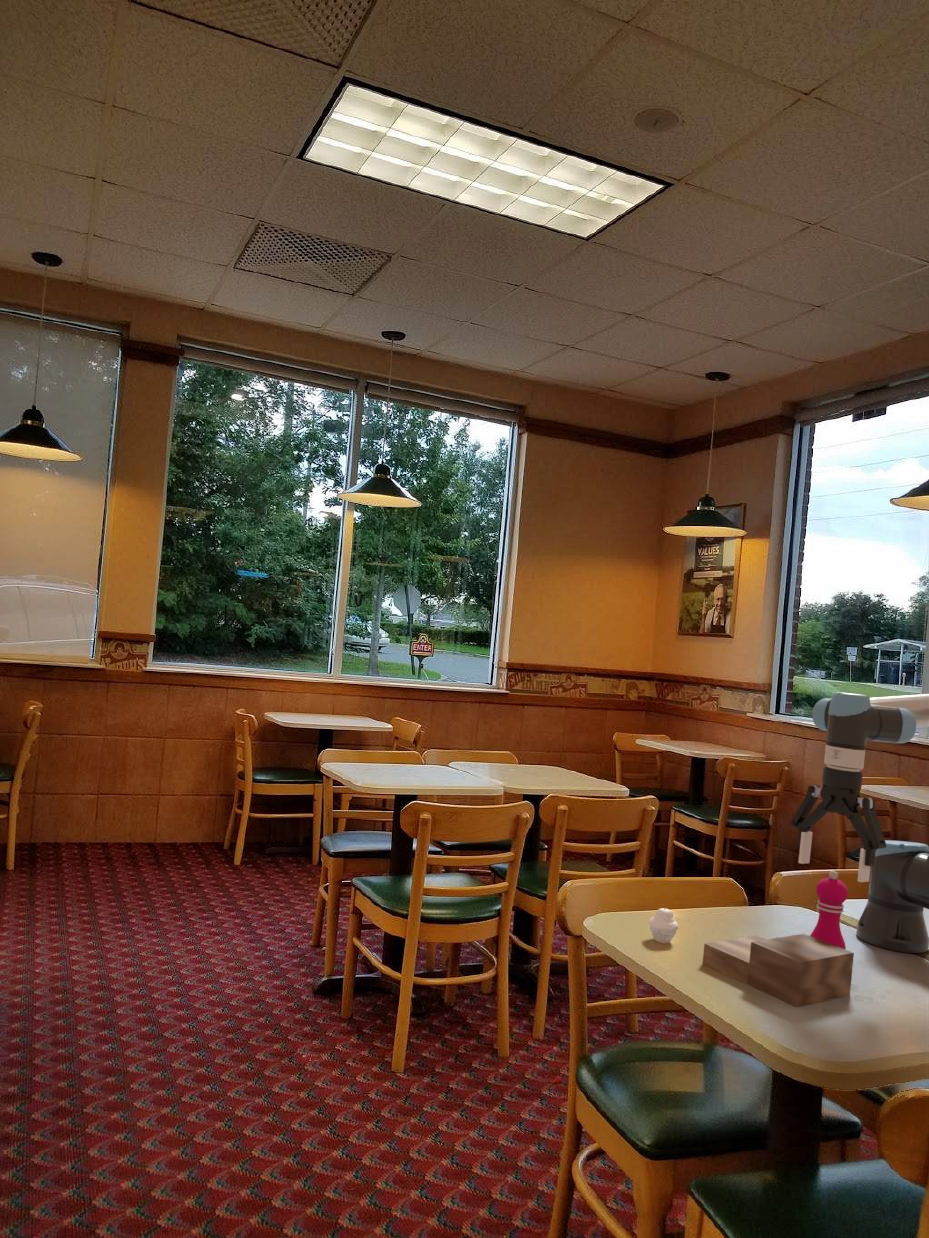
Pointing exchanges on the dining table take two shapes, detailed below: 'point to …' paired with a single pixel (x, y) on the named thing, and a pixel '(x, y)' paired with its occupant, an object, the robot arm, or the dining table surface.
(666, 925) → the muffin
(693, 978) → the dining table surface
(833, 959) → the step stand
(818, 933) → the pepper mill
